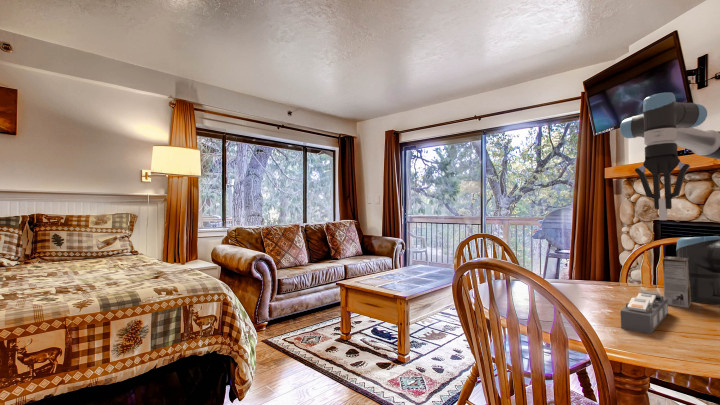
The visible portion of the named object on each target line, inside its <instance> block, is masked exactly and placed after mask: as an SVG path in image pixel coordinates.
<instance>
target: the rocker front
mask: <svg viewBox="0 0 720 405" xmlns="http://www.w3.org/2000/svg"><path fill="white" fill-rule="evenodd" d="M628 303H629V304H628V306H627V308H628V309H630V310H636V311H642V312H646V310H647V309H648V306H649V303H650V300H647V299H640V298H636V297H631V299H630V301H629V302H628Z"/></svg>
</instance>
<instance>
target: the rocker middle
mask: <svg viewBox="0 0 720 405" xmlns="http://www.w3.org/2000/svg"><path fill="white" fill-rule="evenodd" d="M635 298H640V299H647V300H650V303H649V305H651V306H652V305H653V303H654V301H655V299H656V295H650V294H643V293H641V292H638V294H637V295H636V297H635Z"/></svg>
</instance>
